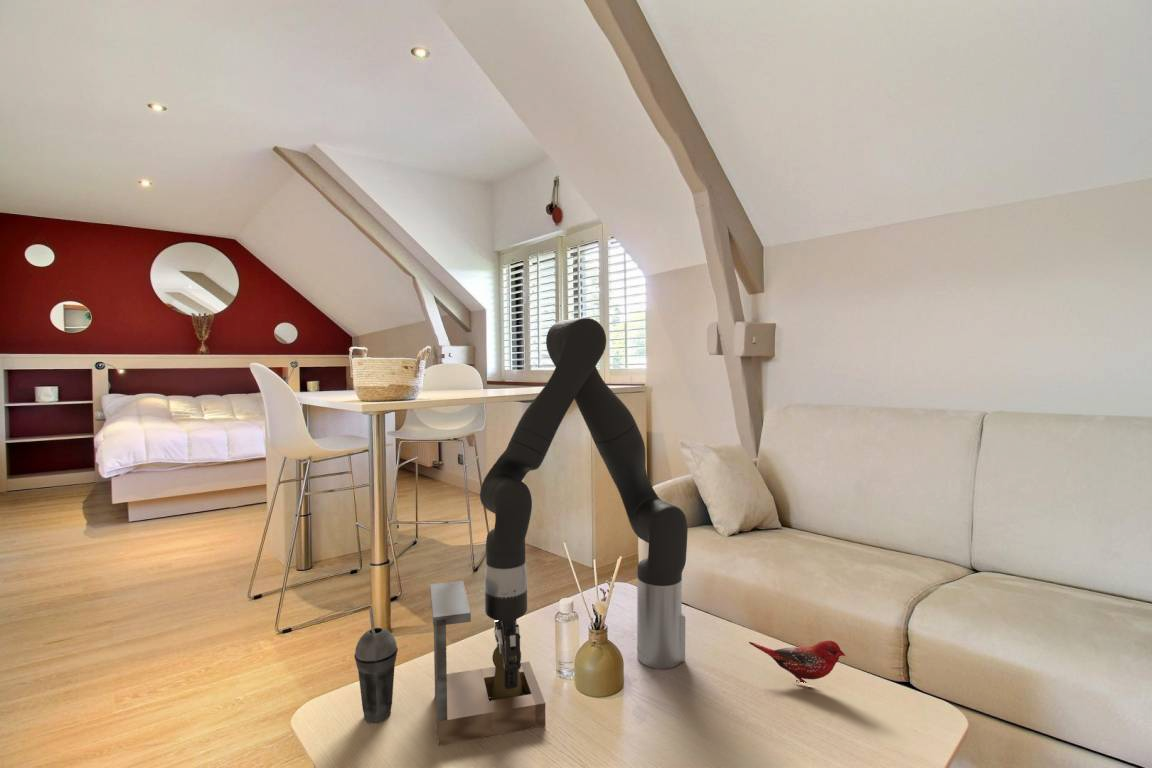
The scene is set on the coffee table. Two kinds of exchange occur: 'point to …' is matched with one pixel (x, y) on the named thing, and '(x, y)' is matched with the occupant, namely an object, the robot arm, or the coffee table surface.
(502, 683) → the cork
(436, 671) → the socket stand
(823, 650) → the decorative bird figurine
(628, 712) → the coffee table surface
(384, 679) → the beverage cup
